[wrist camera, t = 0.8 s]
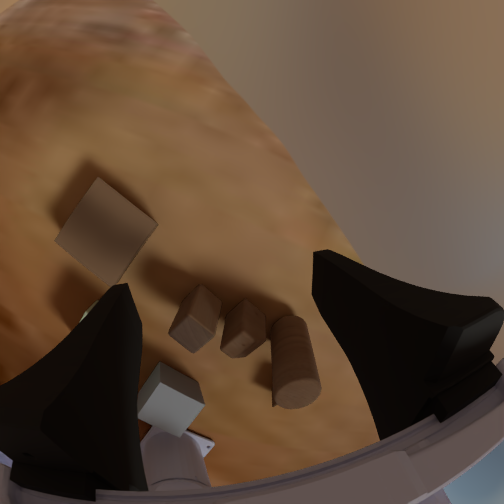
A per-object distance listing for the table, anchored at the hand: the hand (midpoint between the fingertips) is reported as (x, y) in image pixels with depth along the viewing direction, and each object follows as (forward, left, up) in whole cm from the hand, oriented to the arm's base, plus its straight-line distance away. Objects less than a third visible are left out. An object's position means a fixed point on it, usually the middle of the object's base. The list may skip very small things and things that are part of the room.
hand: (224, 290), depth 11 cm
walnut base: (-3, +8, -19) cm, 21 cm away
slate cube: (-14, -6, -19) cm, 24 cm away
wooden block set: (-3, -11, -20) cm, 23 cm away
